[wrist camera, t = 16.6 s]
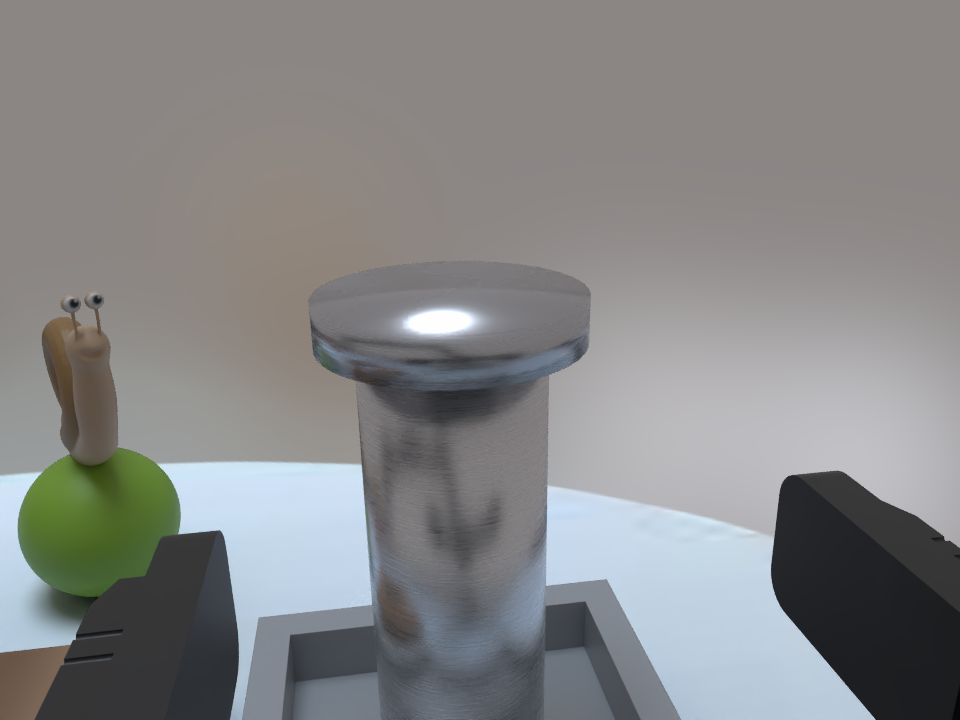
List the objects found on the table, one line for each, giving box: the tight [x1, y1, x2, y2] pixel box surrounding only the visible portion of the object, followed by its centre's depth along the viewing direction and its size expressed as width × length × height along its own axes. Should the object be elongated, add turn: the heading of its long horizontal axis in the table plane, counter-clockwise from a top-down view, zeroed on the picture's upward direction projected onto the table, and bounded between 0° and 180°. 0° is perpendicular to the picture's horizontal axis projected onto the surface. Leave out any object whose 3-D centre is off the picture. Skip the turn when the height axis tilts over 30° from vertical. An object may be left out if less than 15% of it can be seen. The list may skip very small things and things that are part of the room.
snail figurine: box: [18, 291, 181, 597], centre depth 28 cm, size 5×6×12 cm
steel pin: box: [308, 261, 591, 720], centre depth 18 cm, size 6×6×13 cm
